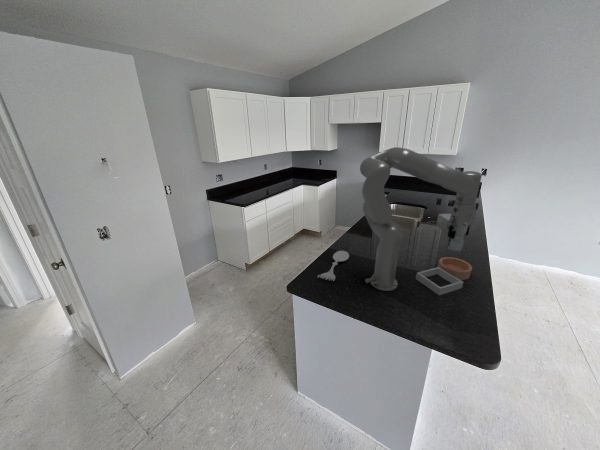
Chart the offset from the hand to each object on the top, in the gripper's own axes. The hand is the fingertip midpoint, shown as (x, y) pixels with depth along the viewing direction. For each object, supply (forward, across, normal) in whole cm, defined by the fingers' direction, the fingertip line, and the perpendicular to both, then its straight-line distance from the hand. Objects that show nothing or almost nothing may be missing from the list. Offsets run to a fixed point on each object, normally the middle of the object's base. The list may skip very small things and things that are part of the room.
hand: (457, 235), depth 118 cm
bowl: (+23, +6, +2) cm, 23 cm away
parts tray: (+22, -10, -2) cm, 24 cm away
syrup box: (+7, 0, 0) cm, 7 cm away
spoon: (+22, -49, +29) cm, 61 cm away
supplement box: (+24, +51, +44) cm, 71 cm away
